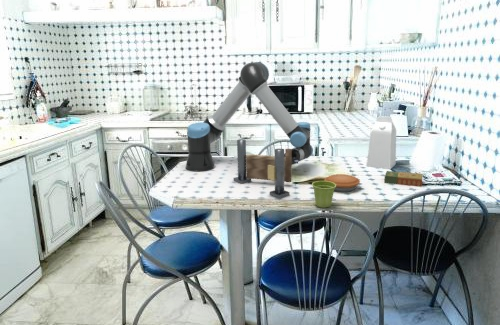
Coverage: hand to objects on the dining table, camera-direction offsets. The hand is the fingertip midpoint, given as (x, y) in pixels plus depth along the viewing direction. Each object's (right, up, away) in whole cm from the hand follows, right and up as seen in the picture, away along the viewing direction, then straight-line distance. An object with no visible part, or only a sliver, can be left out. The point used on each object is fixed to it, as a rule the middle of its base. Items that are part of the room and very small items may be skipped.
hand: (269, 166), depth 189 cm
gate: (0, -6, 0) cm, 6 cm away
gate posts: (-5, -9, -5) cm, 11 cm away
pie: (+32, -10, -6) cm, 34 cm away
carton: (+61, -8, 0) cm, 62 cm away
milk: (+61, 0, +28) cm, 67 cm away
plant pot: (+20, -15, -27) cm, 37 cm away
